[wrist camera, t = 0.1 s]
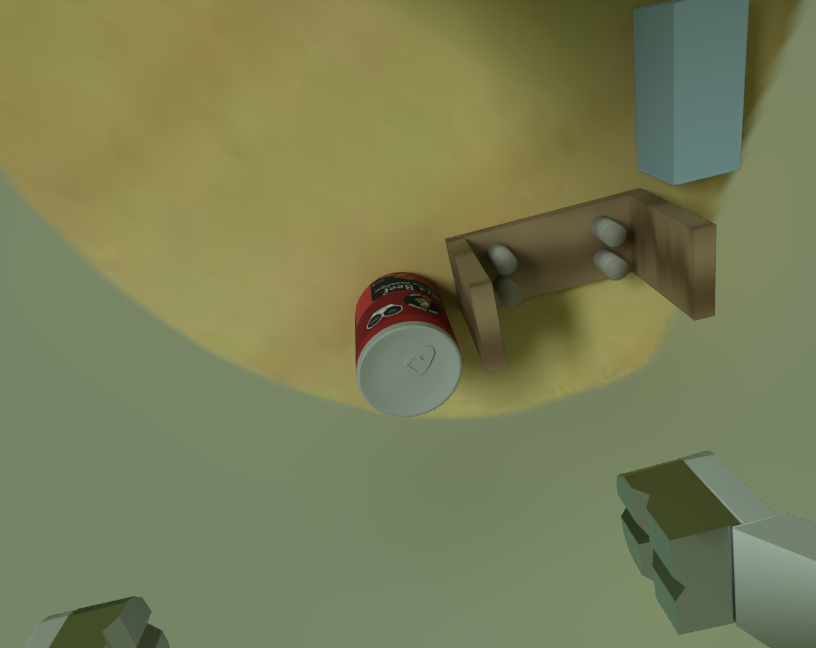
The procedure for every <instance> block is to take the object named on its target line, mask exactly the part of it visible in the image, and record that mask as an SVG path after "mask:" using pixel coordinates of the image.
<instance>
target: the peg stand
mask: <svg viewBox="0 0 816 648" xmlns="http://www.w3.org/2000/svg"><path fill="white" fill-rule="evenodd" d="M445 240H446V244H447V249H448V254H449V258H450V263H451V267H452V272H453V277H454V281H455V286H456V291H457V295H458V300H459V304H460V309H461V312H462V314H463V317H464V319H465V321H466V324H467V326H468V329H469V331H470V333H471V336H472V338H473V340H474V343H475V345H476V347H477V350H478V352H479V354H480V357H481V359H482V361H483V364H484V366H485V368H486V371H487V373H491V372H495V371H499V370H503V369H507V363H506V357H505V352H504V346H503V341H502V335H501V330H500V325H499V319H498V314H497V308H496V307H497V306H501V305H504V306H506V307H509V308H512V307H515V306H517V305H519V304H520V302H521V301H522V300H524V299H528V298H532V297H536V296H540V295H544V294H547V293H551V292H555V291H559V290H563V289H567V288H571V287H575V286H579V285H582V284H586V283H590V282H594V281H598V280H602V279H606V278H610V279H612V280H620V279H622V278H624V277H625V276H626V274H627V273H629V272H633V273H635V274H636V275H637V276H638V277H640V278H641V279H642V280H644V281H645V282H646V283H647V284H649V285H650V286H651V287H652V288H654V289H655V290H656V291H658V292H659V293H660V294H661V295H663V296H664V297H665V298H666V299H668V300H669V301H670V302H672V303H673V304H674V305H675V306H677V307H678V308H679V309H680V310H682V311H683V312H684V313H686V314H687V315H688V316H689V317H691V318H692V319H693V320H694V321H695V320H699V319H703V318H707V317H711V316H715V271H716V270H715V269H716V224H714V223H712V222H710V221H707V220H705V219H703V218H701V217H699V216H697V215H695V214H693V213H691V212H689V211H687V210H685V209H682V208H680V207H678V206H676V205H674V204H672V203H670V202H668V201H666V200H664V199H662V198H659V197H657V196H655V195H653V194H651V193H649V192H647V191H645V190H643V189H641V188H639V189H635V190H631V191H627V192H623V193H620V194H616V195H612V196H608V197H604V198H600V199H597V200H593V201H589V202H585V203H581V204H577V205H574V206H570V207H566V208H562V209H558V210H554V211H551V212H547V213H543V214H539V215H535V216H531V217H528V218H524V219H520V220H516V221H512V222H508V223H505V224H501V225H497V226H493V227H489V228H485V229H482V230H478V231H474V232H470V233H466V234H462V235H459V236H455V237H451V238H447V239H445Z"/></svg>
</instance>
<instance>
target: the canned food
mask: <svg viewBox="0 0 816 648" xmlns="http://www.w3.org/2000/svg"><path fill="white" fill-rule="evenodd" d="M355 343H356V376H357V382H358V386H359V389H360V392H361V394H362V395H363V397H364V399H365V400H366V401H367V402H368V403H369V404H370V405H371V406H372V407H373V408H375V409H376V410H378V411H380V412H382V413H384V414H387V415H391V416H395V417H413V416H418V415H422V414H425V413H428V412H430V411H432V410H434V409H436V408H437V407H439V406H440V405H442V404H443V403H444V402H445V401H446V400H447V399H448V398H449V397H450V396H451V395H452V393H453V392H454V391H455V389H456V387H457V385H458V383H459V381H460V377H461V373H462V361H461V355H460V350H459V348H458V344H457V341H456V339H455V336H454V333H453V331H452V328H451V325H450V323H449V320H448V317H447V315H446V312H445V309H444V307H443V304H442V302H441V299H440V297H439V294H438V292H437V291H436V289H435V288H434V287H433V285H431V284H430V283H429V282H428V281H427V280H425V279H423V278H421V277H420V276H417V275H414V274H411V273H404V272H399V273H392V274H388V275H385V276H383V277H381V278H379V279H377V280H376V281H374V282H373V283H372V284H371V285H370V286H369V287H368V288H367V289H366V290H365V291H364V292H363V294H362V296H361V297H360V299H359V301H358V304H357V306H356V312H355Z"/></svg>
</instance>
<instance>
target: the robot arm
mask: <svg viewBox="0 0 816 648" xmlns="http://www.w3.org/2000/svg"><path fill="white" fill-rule="evenodd" d="M617 490H618V496H619V497H620V499H621V500H622V502H623V503H624V505H625V506H626V509H625V510H624V512H623V514H622V516H621V520H622V526H623V531H624V535H625V539H626V542H627V545H628V548H629V551H630V553H631V555H632V557H633V559H634V561H635V563H636V565H637V567H638V568H639V570H640V572H641V573H642V575H643V576H645V577H647V578H649V579H651V580H653V581H654V584H655V592H656V598H657V600H658V602H659V603H660V605H661V607H662V608H663V610H664V612H665V613H666V615H667V616H668V618H669V620H670V621H671V623H672V625H673V626H674V628H675V629H676V631H677V633H678V634H679V635H680V634H685V633H689V632H694V631H699V630H703V629H708V628H712V627H718V626H722V625H727V624H731V623H736V626H738V627H739V628H741V629H742V630H744V631H745V632H747V633H748V634H750V635H752V636H753V637H755V638H756V639H758V640H759V641H761V642H762V643H764V644H765V645H767V646H768V647H770V648H816V523H815V522H813V521H810V520H807V519H804V518H801V517H799V516H796V515H793V514H790V513H787V514H782V515H778V514H777V513H776V512H775V511H774V510H773V509H772V508H771V507H770V506H769V505H768V504H767V503H765V501H763V499H761V498H760V497H759V496H758V495H757V494H756V493H755V492H754V491H753V490H752V489H751V488H750V487H749V486H748V485H747V484H746V483H745V482H744V481H743V480H742V479H740V478H739V477H738V476H737V475H736V474H735V473H734V472H733V471H732V470H731V469H730V468H729V467H728V466H727V465H726V464H725V463H724V462H723V461H722V460H721V459H720V458H718V457H717V456H716V455H715V454H714V453H712V452H710V451H704V452H700V453H697V454H693V455H689V456H686V457H682V458H679V459H677V460H674V461H670V462H666V463H662V464H658V465H654V466H650V467H647V468H642V469H638V470H635V471H631V472H627V473H623V474H619V475H618V476H617ZM150 615H151V610H150V609H149V607H148V605H147V604H146V602H145V601H144V599H143V598H142V597H135V596H132V597H128V598H124V599H120V600H115V601H111V602H106V603H101V604H97V605H92V606H89V607H84V608H79V609H77V610H74V611H69V612H64V613H60V614H55V615H51V616H49V617H47V618H46V619H44V620H43V621H41V622H40V623H39V624H38V625H37V627H36V629H35V630H34V632H33V633H32V635H31V636H30V638H29V639H28V641H27V642H26V644H25V645H24V647H23V648H169V643H168V641H167V639H166V637H165V635H164V633H163V631H162V630H160V629H158V628H156V627H154V626H152V625H150V624H148V621H149V618H150Z"/></svg>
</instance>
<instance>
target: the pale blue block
mask: <svg viewBox="0 0 816 648" xmlns="http://www.w3.org/2000/svg"><path fill="white" fill-rule="evenodd" d="M748 11H749V0H669V1H664V2H660V3H656V4H652V5H648V6H644V7H640V8H636V9H633V31H634V65H635V99H636V133H637V167H638V171H640V172H643V173H645V174H647V175H650V176H652V177H655V178H657V179H659V180H662V181H664V182H666V183H669V184H671V185H679V184H683V183H687V182H691V181H695V180H699V179H703V178H708V177H712V176H716V175H720V174H724V173H728V172H732V171H736V170H740V160H741V141H742V123H743V104H744V85H745V67H746V48H747V30H748Z"/></svg>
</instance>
